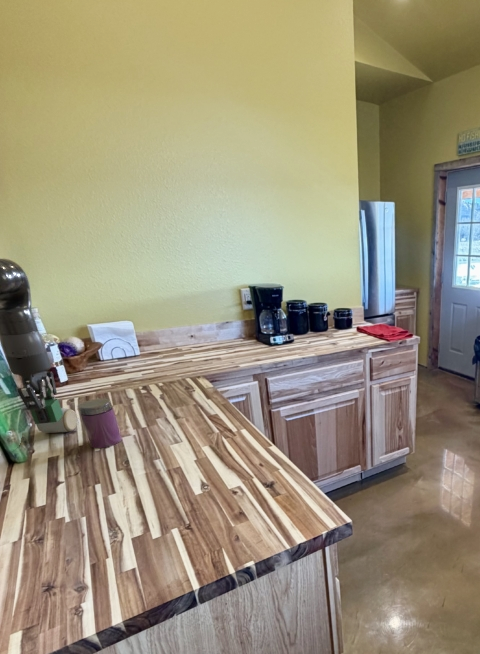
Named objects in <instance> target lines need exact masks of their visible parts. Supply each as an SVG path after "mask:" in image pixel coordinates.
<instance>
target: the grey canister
mask: <svg viewBox="0 0 480 654" xmlns="http://www.w3.org/2000/svg"><path fill="white" fill-rule="evenodd" d="M61 410H62V413H63V416H62V417H61V418H60V419H59V420H58V421H57V422H52V423H42V424H35V425H36V428H37V429H38V431H39V432H40V433H42V434H51V433H53V434H55V433H56V434H57V433H69V432H72V431H74V430H75V429H76V428H77V426H78V424H79V423H80V418H79V417H78V415H77V413H76V411H74V410H73V409H71V408H67V407H66V408H65V407H64V408H63V407H61Z"/></svg>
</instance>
